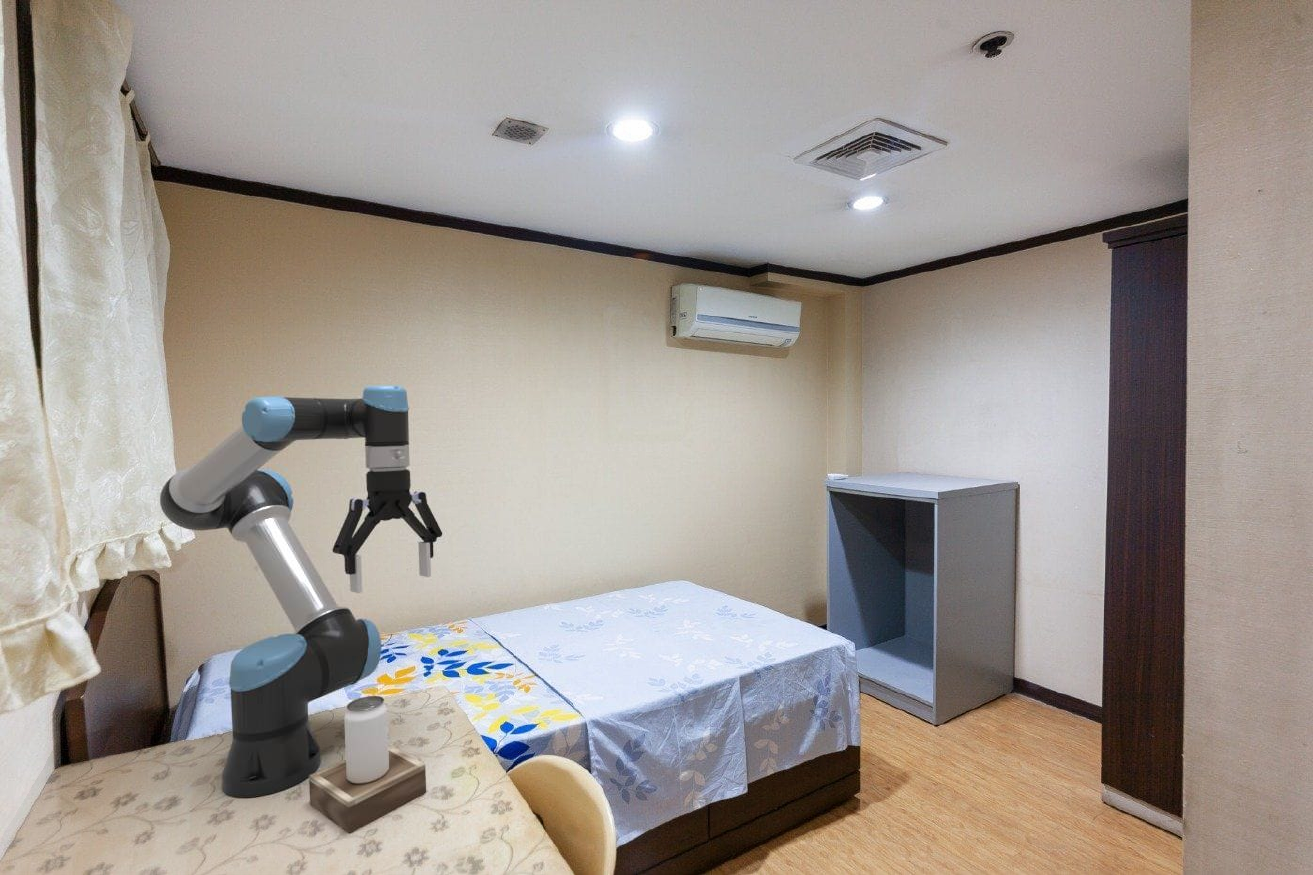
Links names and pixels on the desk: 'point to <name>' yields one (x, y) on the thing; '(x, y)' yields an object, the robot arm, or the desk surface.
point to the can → (366, 740)
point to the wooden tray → (366, 791)
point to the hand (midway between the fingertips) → (392, 583)
